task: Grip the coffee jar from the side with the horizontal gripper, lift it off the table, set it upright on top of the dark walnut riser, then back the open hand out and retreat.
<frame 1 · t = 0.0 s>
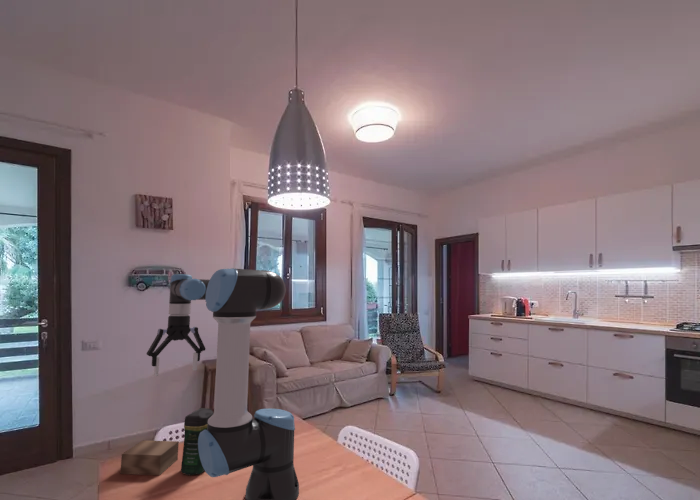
hand: (175, 372, 137), 28 cm above the table, tool pointing down, fingers open, 13 cm apart
walnut riser: (150, 466, 123), on the table
coffee jar: (196, 469, 121), on the table
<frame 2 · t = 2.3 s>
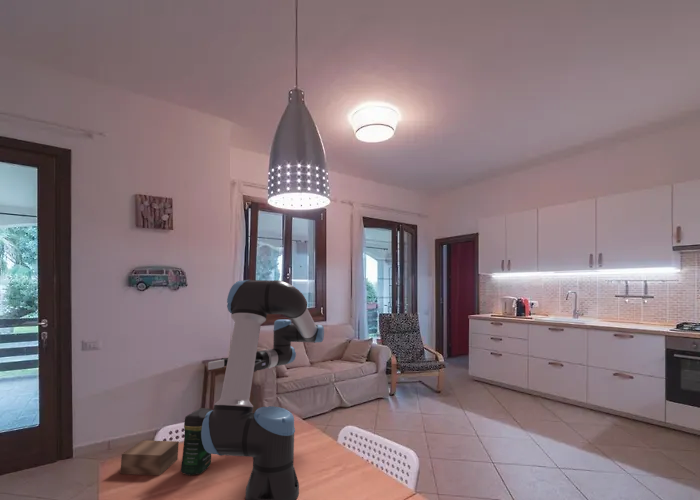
hand: (219, 368, 136), 30 cm above the table, tool horizontal, fingers open, 13 cm apart
nothing on the table moved.
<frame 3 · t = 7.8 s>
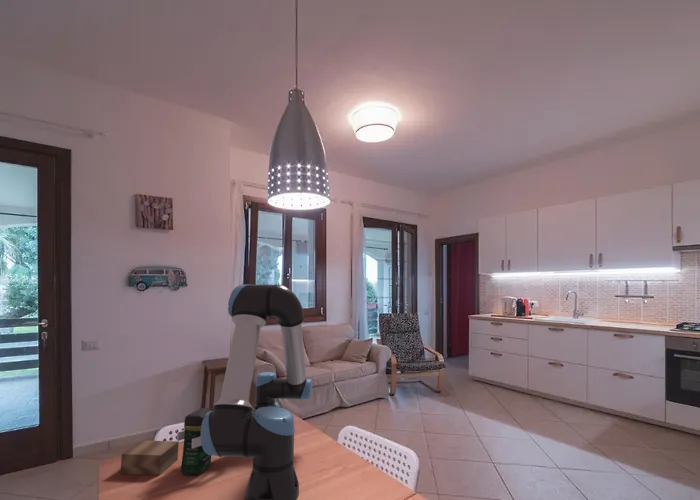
hand: (184, 439, 119), 11 cm above the table, tool horizontal, fingers closed on coffee jar, 9 cm apart
coffee jar: (196, 469, 121), on the table, touching gripper
when the fingers open (17 cm above the table, at t = 12.5 s): coffee jar stays where it is, resting on walnut riser.
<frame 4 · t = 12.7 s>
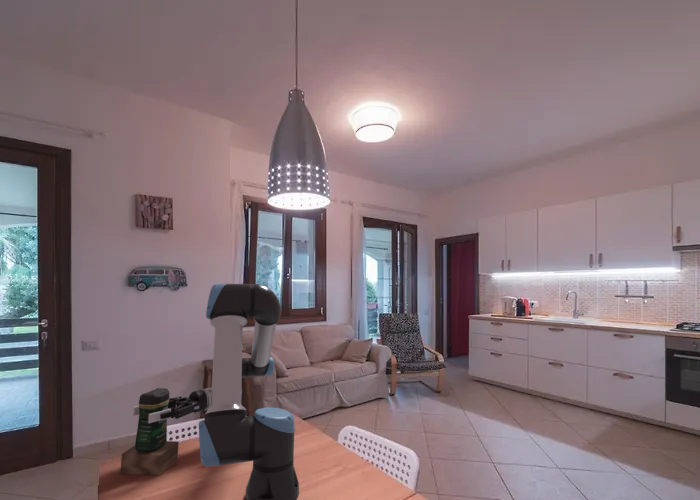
hand: (141, 414, 122), 17 cm above the table, tool horizontal, fingers open, 11 cm apart
coffee jar: (151, 447, 124), point 6 cm above the table, touching walnut riser
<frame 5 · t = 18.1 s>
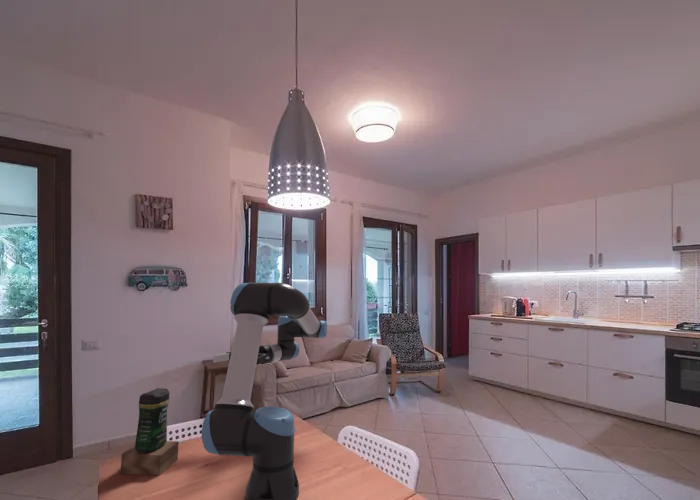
hand: (223, 361, 140), 32 cm above the table, tool horizontal, fingers open, 13 cm apart
nothing on the table moved.
at the end: coffee jar inside the target area on the walnut riser (0.4 cm from its centre), point 5.8 cm above the walnut riser's base; coffee jar tilted 0°; the gripper is holding nothing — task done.
